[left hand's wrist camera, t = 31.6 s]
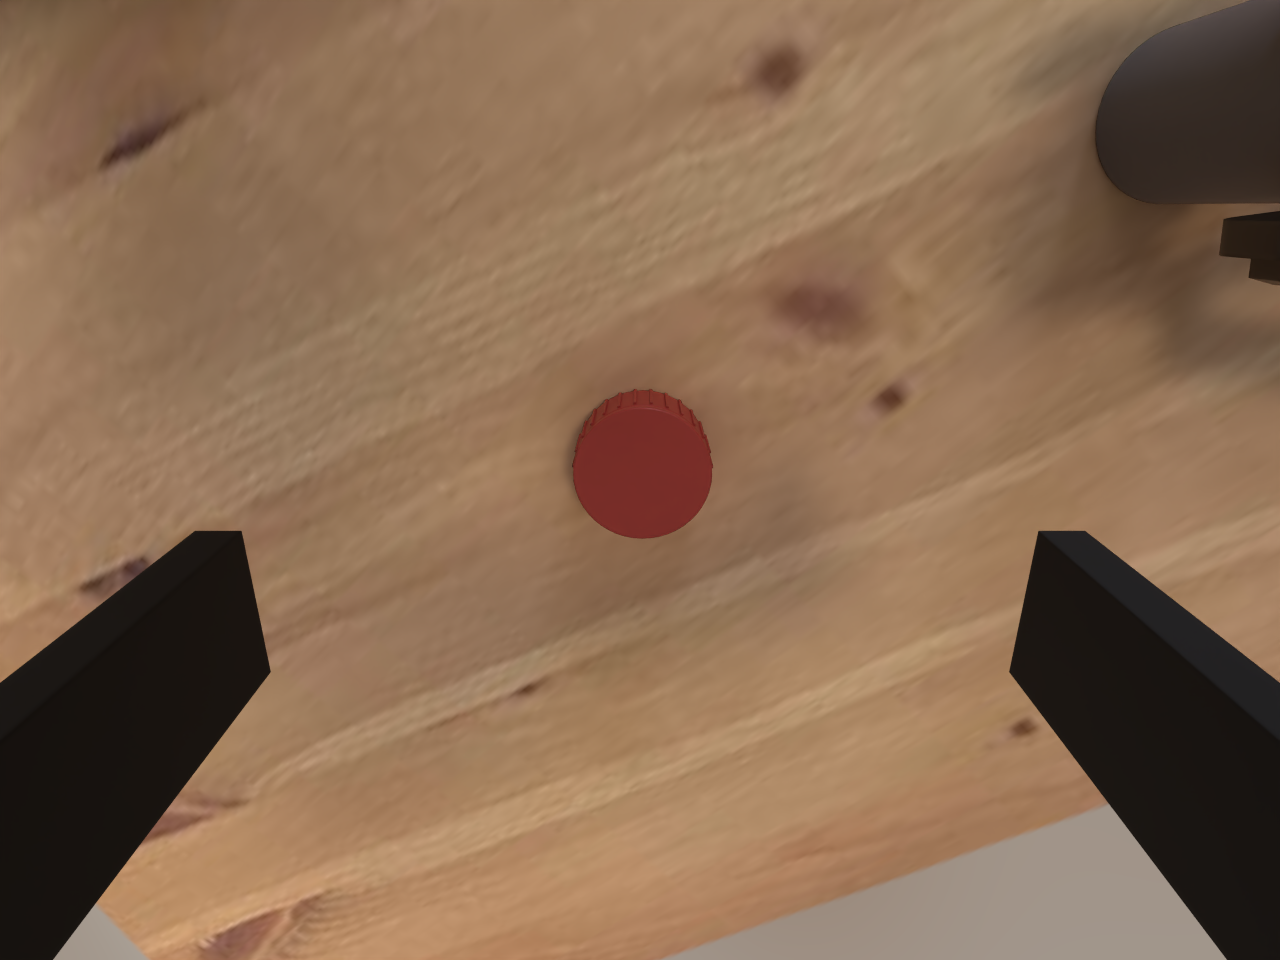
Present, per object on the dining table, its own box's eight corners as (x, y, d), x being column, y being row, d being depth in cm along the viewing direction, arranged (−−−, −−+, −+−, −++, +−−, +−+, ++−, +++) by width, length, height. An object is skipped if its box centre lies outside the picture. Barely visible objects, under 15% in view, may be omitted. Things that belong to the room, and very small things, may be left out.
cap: (705, 513, 24) (711, 541, 22) (578, 512, 24) (572, 540, 22) (710, 388, 22) (717, 406, 20) (575, 387, 22) (569, 405, 20)
